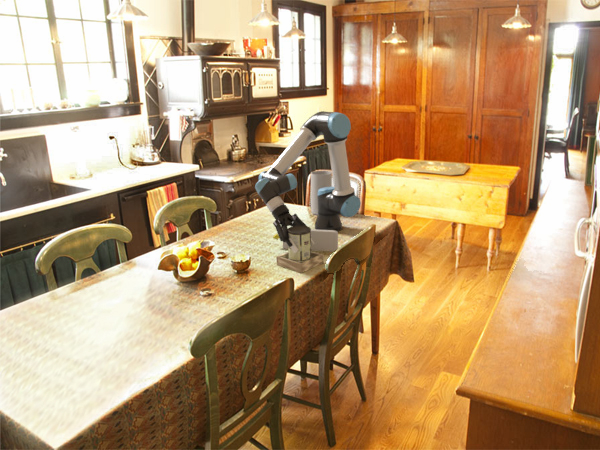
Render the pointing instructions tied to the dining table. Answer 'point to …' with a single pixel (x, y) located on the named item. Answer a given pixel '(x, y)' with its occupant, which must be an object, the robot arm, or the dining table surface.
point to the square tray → (300, 267)
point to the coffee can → (300, 243)
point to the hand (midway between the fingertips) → (304, 248)
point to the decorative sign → (320, 240)
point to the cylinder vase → (319, 186)
